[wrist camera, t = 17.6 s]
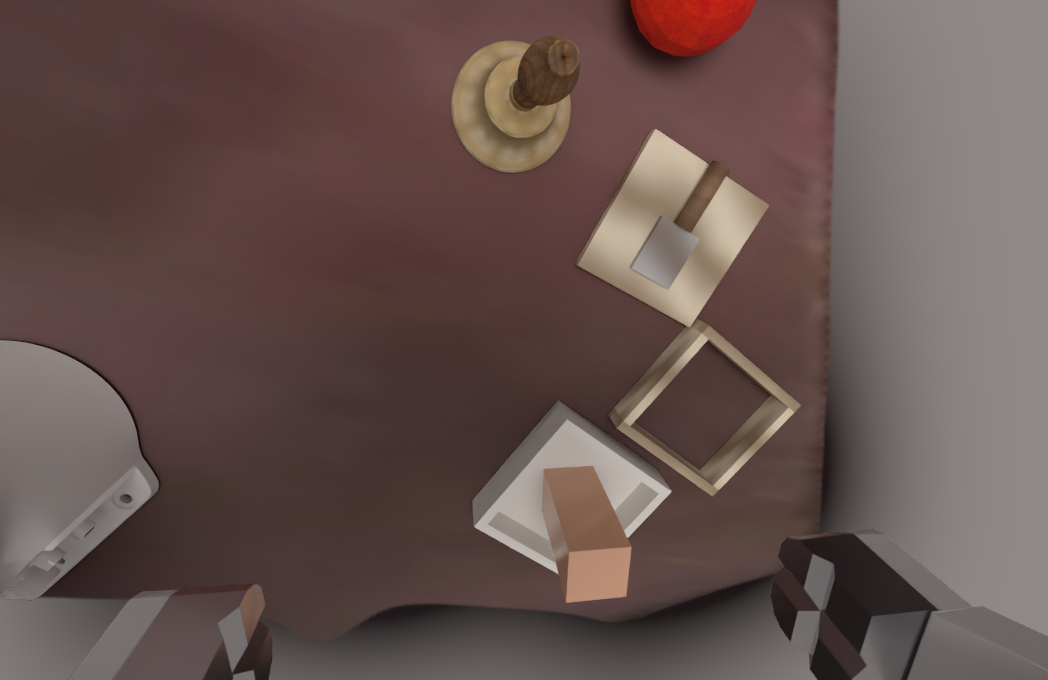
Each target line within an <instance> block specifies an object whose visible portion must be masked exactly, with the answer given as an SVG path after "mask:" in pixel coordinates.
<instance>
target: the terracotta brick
mask: <svg viewBox="0 0 1048 680" xmlns="http://www.w3.org/2000/svg"><path fill="white" fill-rule="evenodd" d="M542 512H543V516H544V520H545V524H546V528H547V531H548V535H549V539H550V543H551V547H552V551H553V554H554V558H555V562H556V566H557V570H558V574H559V577H560V581H561V585H562V589H563V593H564V596H565V600H566V603H567V602H577V601H587V600H597V599H607V598H617V597H626V593H627V584H628V575H629V565H630V556H631V545H630V543H629V541H628V538H627V536H626V534H625V532H624V530H623V528H622V526H621V524H620V522H619V519H618V517H617V515H616V513H615V511H614V509H613V507H612V505H611V503H610V501H609V498H608V496H607V494H606V492H605V490H604V488H603V486H602V484H601V482H600V480H599V477H598V475H597V473H596V471H595V469H594V467H593V466H580V467H564V468H548V469H544V473H543V502H542Z"/></svg>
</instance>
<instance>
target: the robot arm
mask: <svg viewBox="0 0 1048 680" xmlns="http://www.w3.org/2000/svg"><path fill="white" fill-rule="evenodd" d="M158 488H159V483H158V480H157V478H156V476H155V474H154V473H153V471H152V470H151V468H150V467H149V465H148V464H147V463H146V461H145V460H144V459H143V457H142V455H141V452H140V448H139V443H138V437H137V432H136V428H135V425H134V422H133V419H132V417H131V415H130V413H129V411H128V409H127V407H126V405H125V404H124V402H123V401H122V399H121V398H120V397H119V395H118V394H117V393H116V392H115V391H114V389H113V388H112V387H111V386H110V385H109V384H108V383H107V382H106V381H104V380H103V379H102V378H101V377H100V376H99V375H97V374H96V373H95V372H93V371H92V370H91V369H89V368H88V367H86V366H85V365H83V364H81V363H80V362H78V361H76V360H74V359H72V358H70V357H68V356H66V355H64V354H62V353H59V352H57V351H54V350H52V349H49V348H45V347H42V346H38V345H34V344H30V343H25V342H17V341H6V340H0V599H8V600H31V601H32V600H33V599H35V598H38V597H39V596H41V595H42V594H43V593H44V592H46V591H47V590H48V589H49V588H50V587H51V586H53V585H54V584H55V583H56V582H57V581H58V580H59V579H61V578H62V577H63V576H64V575H65V574H66V573H67V572H68V571H70V570H71V569H72V568H73V567H74V566H75V565H76V564H77V563H78V562H80V561H81V560H82V559H83V558H84V557H85V556H86V555H87V554H89V553H90V552H91V551H92V550H93V549H94V548H95V547H96V546H98V545H99V544H100V543H101V542H102V541H103V540H104V539H105V538H106V537H108V536H109V535H110V534H111V533H112V532H113V531H114V530H115V529H117V528H118V527H119V526H120V525H121V524H122V523H123V522H124V521H125V520H127V519H128V518H129V517H130V516H131V515H132V514H133V513H134V512H136V511H137V510H138V509H139V508H140V507H141V506H142V505H143V504H145V503H146V502H147V501H148V500H149V499H150V498H151V497H152V496H153V495H155V494H156V492H157V491H158ZM126 494H128V495H130V496H131V497H132V498H130V497H128V496H127V495H126ZM778 558H779V559H780V561H781V563H782V564H783V566H784V568H783V569H782V570H781V571H780V572H779V573H778V574H777V575H776V576H775V577H774V579H773V582H772V588H771V594H770V597H771V602H772V607H773V612H774V615H775V617H776V619H777V621H778V624H779V626H780V628H781V629H782V631H783V632H784V634H785V635H786V636H787V638H788V639H789V641H790V642H791V643H793V644H794V645H796V646H797V647H799V648H800V649H802V650H803V651H805V652H806V653H808V654H809V663H810V670H811V671H812V673H813V674H814V676H815V677H816V678H817V680H1048V636H1046V635H1044V634H1042V633H1039V632H1037V631H1035V630H1033V629H1031V628H1029V627H1026V626H1024V625H1022V624H1020V623H1018V622H1015V621H1013V620H1011V619H1009V618H1007V617H1005V616H1002V615H1000V614H998V613H996V612H994V611H991V610H989V609H987V608H985V607H983V606H981V607H972V606H971V605H970V604H968V603H967V602H966V601H965V600H964V599H963V598H961V597H960V596H959V595H958V594H956V593H955V592H954V591H953V590H952V589H951V588H949V587H948V586H947V585H946V584H945V583H943V582H942V581H941V580H940V579H938V578H937V577H936V576H935V575H934V574H933V573H931V572H930V571H929V570H928V569H927V568H925V567H924V566H923V565H922V564H921V563H919V562H918V561H917V560H916V559H915V558H913V557H912V556H911V555H910V554H908V553H907V552H906V551H905V550H904V549H902V548H901V547H900V546H899V545H898V544H897V543H895V542H894V541H893V540H892V539H890V538H889V537H888V536H887V535H886V534H884V533H882V532H880V531H877V530H875V529H864V530H854V531H845V532H842V533H840V532H837V533H828V534H816V535H806V536H796V537H787V538H786V539H785V540H784V542H783V543H782V544H781V547H780V551H779V555H778ZM264 606H265V601H264V597H263V593H262V589H261V586H259V585H256V584H244V585H228V586H212V587H196V588H181V589H180V590H163V591H144V592H141V593H139V594H137V595H136V596H134V597H133V598H131V599H130V600H129V601H128V602H127V603H126V605H125V606H124V607H123V608H122V610H121V611H120V612H119V614H118V615H117V616H116V618H115V619H114V620H113V622H112V623H111V624H110V625H109V627H108V628H107V629H106V631H105V632H104V633H103V635H102V636H101V637H100V638H99V640H98V641H97V642H96V644H95V645H94V646H93V647H92V649H91V650H90V651H89V653H88V654H87V656H86V657H85V658H84V659H83V661H82V662H81V663H80V664H79V666H78V667H77V668H76V670H75V671H74V672H73V674H72V675H71V676H70V677H69V679H68V680H269V675H270V669H271V663H272V637H271V631H270V628H269V627H268V626H266V625H265V624H264V623H263V622H262V621H260V620H259V618H260V615H261V613H262V611H263V608H264Z"/></svg>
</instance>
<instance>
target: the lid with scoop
mask: <svg viewBox="0 0 1048 680" xmlns="http://www.w3.org/2000/svg"><path fill="white" fill-rule="evenodd" d="M729 171H730V169H729V168H728V167H727V166H726V165H724V164H722V163H720V162H717V161H712V163H711V165H709V164H707V163H706V162H704V161H703V160H701V159H700V158H698V157H697V156H695V155H694V154H692V153H691V152H689V151H688V150H686V149H685V148H683V147H682V146H680V145H679V144H678V143H676V142H675V141H673V140H672V139H670V138H669V137H667V136H666V135H664V134H663V133H661V132H660V131H658V130H657V129H652V130H651V131H650V133H649V134H648V136H647V138H646V140H645V141H644V143H643V145H642V147H641V148H640V150H639V152H638V154H637V155H636V157H635V159H634V161H633V162H632V164H631V166H630V168H629V169H628V171H627V173H626V175H625V176H624V178H623V180H622V182H621V184H620V185H619V187H618V189H617V191H616V192H615V194H614V196H613V198H612V199H611V201H610V203H609V205H608V206H607V208H606V210H605V212H604V213H603V215H602V217H601V219H600V220H599V222H598V224H597V226H596V227H595V229H594V231H593V233H592V234H591V236H590V238H589V240H588V241H587V243H586V245H585V247H584V248H583V250H582V252H581V254H580V255H579V257H578V259H577V261H576V262H575V264H576V265H577V266H579V267H581V268H583V269H584V270H586V271H588V272H590V273H592V274H594V275H595V276H597V277H599V278H601V279H603V280H604V281H606V282H608V283H610V284H612V285H613V286H615V287H617V288H619V289H621V290H623V291H624V292H626V293H628V294H630V295H632V296H633V297H635V298H637V299H639V300H641V301H643V302H644V303H646V304H648V305H650V306H652V307H653V308H655V309H657V310H659V311H661V312H662V313H664V314H666V315H668V316H670V317H672V318H673V319H675V320H677V321H679V322H681V323H682V324H684V325H686V326H688V327H691V325H692V324H693V322H694V320H695V319H696V317H697V316H698V314H699V313H700V311H701V310H702V308H703V307H704V305H705V304H706V302H707V300H708V299H709V297H710V296H711V294H712V293H713V291H714V290H715V288H716V287H717V285H718V284H719V282H720V280H721V279H722V277H723V276H724V274H725V273H726V271H727V270H728V268H729V267H730V265H731V263H732V262H733V260H734V259H735V257H736V256H737V254H738V253H739V251H740V250H741V248H742V247H743V245H744V243H745V242H746V240H747V239H748V237H749V236H750V234H751V233H752V231H753V230H754V228H755V227H756V225H757V223H758V222H759V220H760V219H761V217H762V216H763V214H764V213H765V211H766V210H767V208H768V207H769V205H768V204H766V203H765V202H764V201H762V200H761V199H759V198H758V197H756V196H755V195H753V194H752V193H750V192H749V191H747V190H746V189H744V188H743V187H741V186H740V185H738V184H737V183H735V182H734V181H732V180H731V179H729V178H728V177H726V176H727V174H728V173H729Z"/></svg>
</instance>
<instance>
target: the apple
mask: <svg viewBox="0 0 1048 680" xmlns="http://www.w3.org/2000/svg"><path fill="white" fill-rule="evenodd" d="M630 2H631V7H632V12H633V15H634V17H635V20H636V23H637V25H638V28H639V31H640V32H641V33H642V34H643V36H644V37H645V38H646V39H647V40H648V41H649V42H650V44H651V45H652V46H653V47H654V48H657V49H659V50H661V51H663V52H666V53H669V54H671V55H674V56H682V57H687V56H697V55H700V54H703V53H705V52H707V51H709V50H711V49H713V48H714V47H716V46H718V45H720V44H721V43H723V42H724V41H726V40H727V39H728V38H730V37H731V36H732V35H733V34H735V33H736V32H737V31H738V30H740V29H741V27H742V26H743V25H744V23H745V22H746V20H747V19H748V17H749V16H750V14H751V12H752V9H753V7H754V5H755V2H756V0H630Z"/></svg>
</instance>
